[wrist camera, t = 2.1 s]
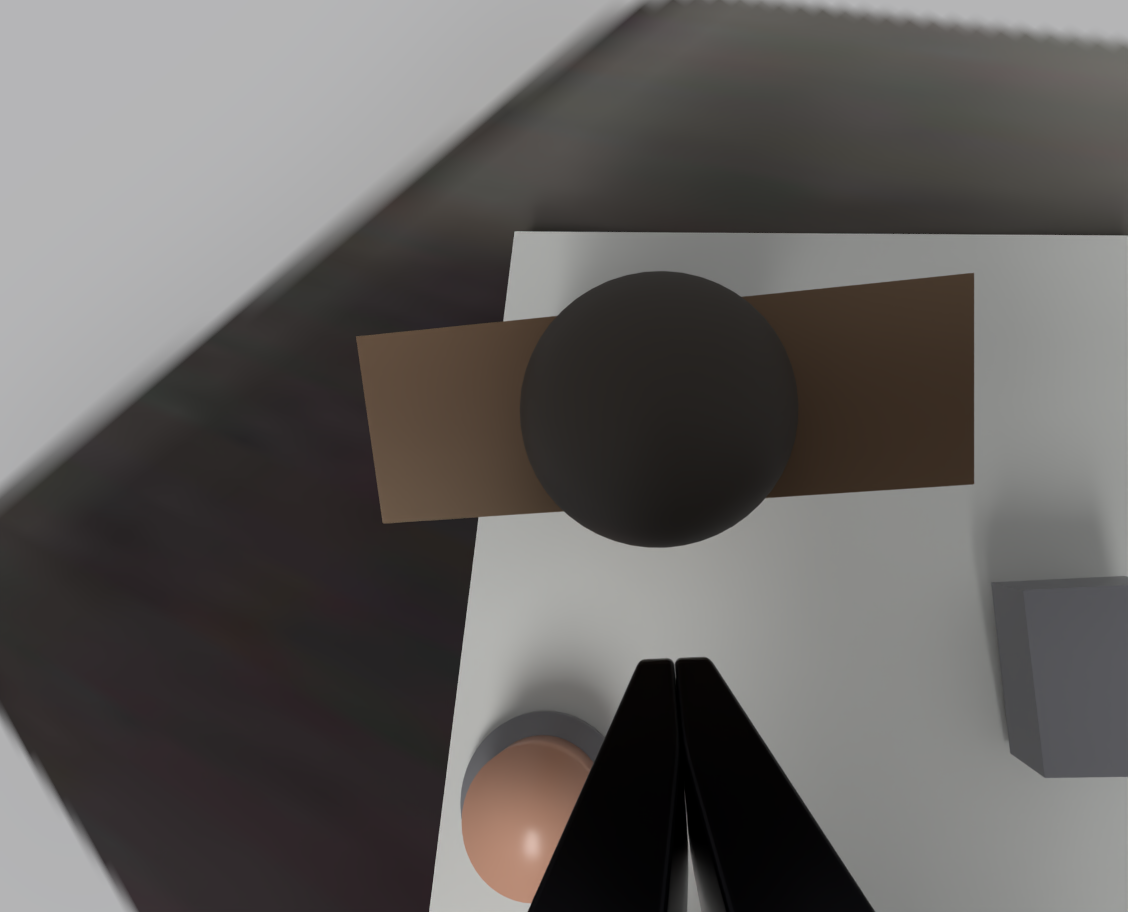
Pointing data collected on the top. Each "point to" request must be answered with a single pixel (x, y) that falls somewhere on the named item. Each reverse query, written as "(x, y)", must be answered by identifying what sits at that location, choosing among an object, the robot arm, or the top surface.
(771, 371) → the walnut lever
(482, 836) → the terracotta button
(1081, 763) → the grey rectangular block
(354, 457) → the top surface
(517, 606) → the control panel
